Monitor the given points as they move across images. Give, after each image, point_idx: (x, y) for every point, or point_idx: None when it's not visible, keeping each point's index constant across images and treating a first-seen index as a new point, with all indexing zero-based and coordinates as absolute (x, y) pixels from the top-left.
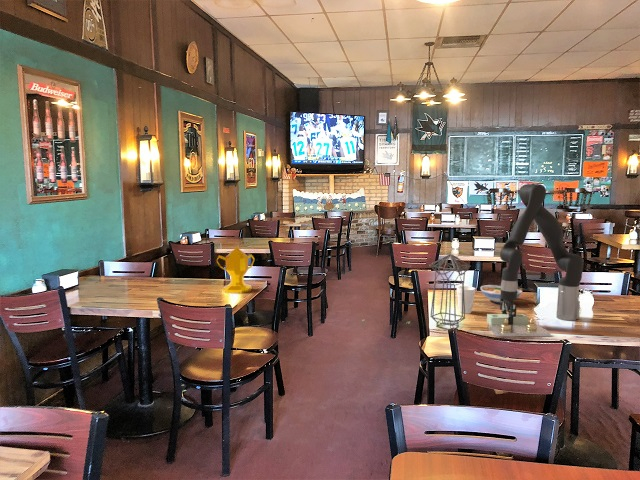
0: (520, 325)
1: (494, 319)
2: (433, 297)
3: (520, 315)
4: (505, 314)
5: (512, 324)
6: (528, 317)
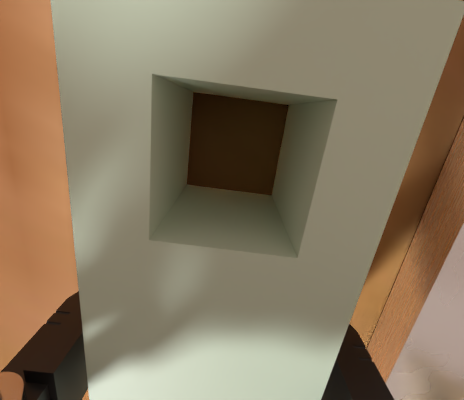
0: (456, 271)
1: None
2: None
3: (158, 109)
4: (112, 391)
5: None
6: (460, 2)
